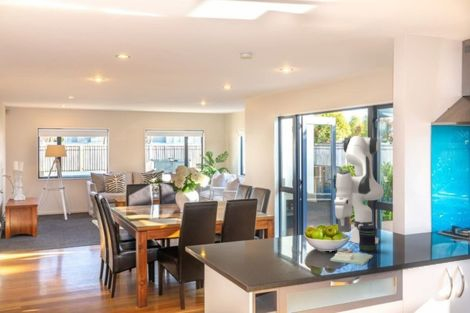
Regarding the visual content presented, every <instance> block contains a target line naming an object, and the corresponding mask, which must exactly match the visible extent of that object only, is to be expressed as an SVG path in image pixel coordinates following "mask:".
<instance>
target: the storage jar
mask: <svg viewBox="0 0 470 313" xmlns="http://www.w3.org/2000/svg"><path fill="white" fill-rule="evenodd" d="M376 229H377V228H376V226H374V225H373V226H368V225H363V226H359V240H360V242H359V244H358V251H359V253H361V254H374V253H376V252H377V249H376V248H377V246H376V245H377V244H376V243H375V236H376V234H377V231H376ZM376 237H377V236H376Z"/></svg>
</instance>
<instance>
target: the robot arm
mask: <svg viewBox="0 0 470 313" xmlns="http://www.w3.org/2000/svg"><path fill="white" fill-rule="evenodd" d="M342 148H343V151H344V153H345V159H346V161H347V162H348V163H350V164H351V165H353V166H354V175H355V176H354V175H353V176H352V172H351V171H349V170H340V171H338V172H337V173H336V178H335V179H336V181H335V187H336V188H335V189H336V193H335V196H336V197H335V199H334V201H333V202H334V203H333V204H334V214H335V218H336V219H337V220H338V219H340V221H341V226H344V225H345V222H344V220H345V217H351V215H353V213H354V221H353V226H354V227H353V228H351V238H349V242H352V243H354V244H358V245H359V242H360V240H359V226H363V225H368V226H374V222H373V211H372V209H371V207H370V206H368V205H366V204H364V203H363V201H376V200H381V199H382V198H383V196H384V192H385V191H384V188H383V187H382V185H381V184H379V183H378V182H377V181H376V180H375V178H374V175H373V157H372V156H373V155H375V154H376V153H378V151H379V148H380V143H379V140H378V139H377V138H375V137H367V136H361V135H353V136H352V137H347V138H345V139H344V140H343V144H342ZM353 211H354V212H353ZM375 243H376V245H378V244H379V237H377V236H375Z"/></svg>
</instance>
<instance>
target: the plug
mask: <svg viewBox="0 0 470 313" xmlns="http://www.w3.org/2000/svg"><path fill="white" fill-rule="evenodd" d="M344 222H345V225H344V226H341V221H340V219H337V225H338V226H337V227H338V229H337V232H341V233H351V232H352V217H351V216H349V217H345V220H344Z"/></svg>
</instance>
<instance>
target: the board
mask: <svg viewBox="0 0 470 313" xmlns="http://www.w3.org/2000/svg"><path fill="white" fill-rule="evenodd" d="M372 258H373V255H372V254H369V253H360V252H359V253H357V252H354V250H353V249H351V248H342V247H341V248H339V249H337V251H336V253H335V254H334V255H333V256H332V257H331V258H330V259H329V260H330V261H331V262H337V263H344V264H352V265H353V264H354V265H362V266H363V265H365V264H366V263H367V262H369V259H370V260H371V259H372Z"/></svg>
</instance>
